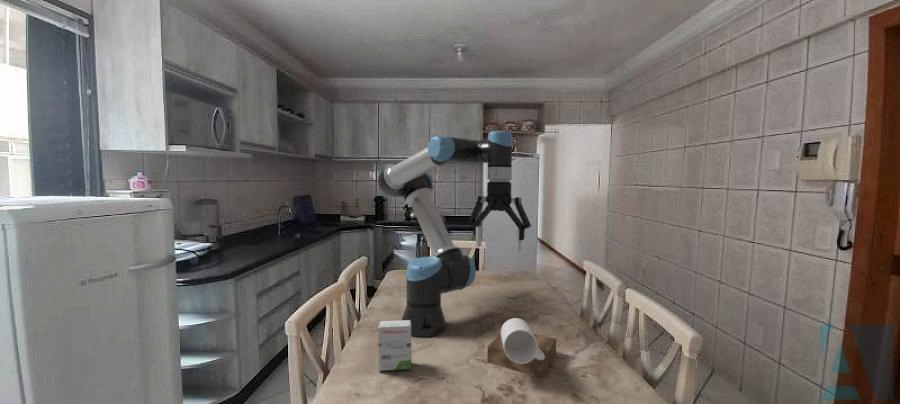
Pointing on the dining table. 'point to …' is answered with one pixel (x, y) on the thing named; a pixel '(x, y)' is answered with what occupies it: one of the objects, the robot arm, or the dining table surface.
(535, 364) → the walnut block
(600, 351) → the dining table surface
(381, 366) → the ink box
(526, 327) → the mug
